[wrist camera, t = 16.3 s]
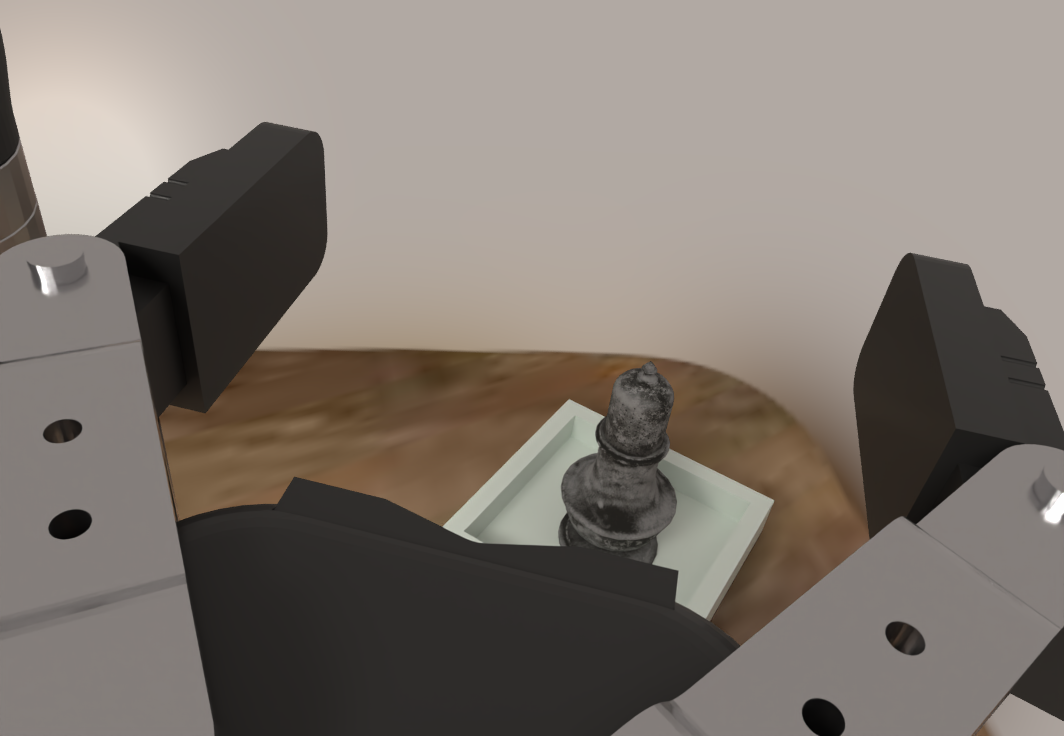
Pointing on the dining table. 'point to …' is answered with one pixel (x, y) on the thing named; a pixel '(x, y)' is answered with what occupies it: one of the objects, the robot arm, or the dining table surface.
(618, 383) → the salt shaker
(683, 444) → the dining table surface
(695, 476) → the tray
